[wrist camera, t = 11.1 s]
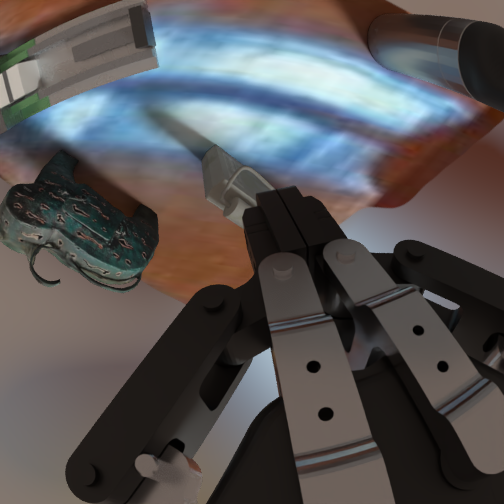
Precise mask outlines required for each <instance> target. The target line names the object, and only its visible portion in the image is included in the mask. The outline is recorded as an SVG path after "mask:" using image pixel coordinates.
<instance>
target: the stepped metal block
mask: <svg viewBox="0 0 504 504" xmlns="http://www.w3.org/2000/svg"><path fill="white" fill-rule="evenodd" d="M128 11H129V17H130V22H131V26H128V27H125V28H121V29H118V30H115V31H113V32H110V33H107V34H104V35H101V36H99V37H96V38H93V39H91V40H88V41H86V42H83V43H81V44H79V45H76V46H74V47H72V53H73V57H74V62H75V63H76V62H80V61H83V60H85V59H88V58H90V57H93V56H96V55H98V54H101V53H104V52H106V51H109V50H112V49H115V48H118V47H121V46H124V45H127V44H130V43H133V42H134V43H135V47H136V49H143V48H149V47H153V46H156V42H155V37H154V32H153V27H152V21H151V16H150V12H148V11H147V10H146V9H145V8H144V7H143V6H141V5H139V6H136V7H132V8H129V9H128Z"/></svg>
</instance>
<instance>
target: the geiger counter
mask: <svg viewBox="0 0 504 504" xmlns="http://www.w3.org/2000/svg"><path fill="white" fill-rule="evenodd" d="M202 170H203V179H204V188H205V197H206V199H207V200H208V201H210V202H211V203H213V204H214V205H216V206H217V207H219V208H220V209H222V210H223V215H224V216H225V217H226V218H228V219H229V220H231V221H232V222H234V223H235V224H237V225H238V226H240V227H241V228H243V229H244V227H243V221H242V216H243V213H244V210H245V209H246V208H251V207H256V206H257V204H256V193H259V192H264V191H269V190H274V188H273V187H272V186H271V185H270V184H269V183H268V182H267V181H266V180H265V179H264V178H263V177H262V176H261V175H260V174H259V173H257V172H256V171H255V170H254V169H252V168H251V167H249V166H243V165H242V164H241V163H240V162H238V161H237V160H236V159H234V158H233V157H232V156H230V155H229V154H228V153H227V152H225V151H224V150H223V149H221V148H220V147H219V146H217V145H215V146H213V147H212V148H211V149H210V150H208V151H207V152H206V154H205V156H204V157H203V159H202Z"/></svg>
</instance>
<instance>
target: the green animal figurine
mask: <svg viewBox="0 0 504 504" xmlns="http://www.w3.org/2000/svg"><path fill="white" fill-rule="evenodd" d="M77 163H78V160H77V159H75V158H73V157H70V156H69V155H68V154H66V153H65V152H64V151H63V150H60V151H59V152H58V153H57V154H56V155H55V156H54V157H53V158H52V159H51V160H50V161H49V163H48V164H46V165H45V166H44V167H43V169H42V170H41V172H40V174H39V175H38V177H37V179H36V180H35V182H34V183H32V184H17V185H15V186H13V187H12V188H11V189H10V190H9V191H8V193H7V195H6V196H5V198H4V199H3V201H2V203H1V205H0V241H1V242H2V243H3V244H4V245H6V246H7V247H9V248H10V249H12V250H14V251H16V252H18V253H21V254H26V256H27V259H28V261H29V262H30V271H31V272H32V274H33V276H34V277H35V279H36V280H37V281H38V282H39V283H40V284H42V285H44V286H47V287H54V286H56V285H58V284H60V279H59V280H57V281H47V280H45V279H43V278H41V277H40V276H39V275H38V274H37V273H36V272H35V271H34V268H33V265H34V261H35V256H36V254H37V253H39V251H40V250H42V249H45V250H47V251H48V252H50V253H51V254H52V255H54V256H55V257H56V258H57V259H58V260H59V261H60V262H61V263H62V264H64V265H65V266H67V267H69V268H70V269H72V270H74V271H76V272H78V273H80V274H81V275H82V276H83V277H85V278H86V279H87V280H89V281H90V282H91V283H93V284H95V285H98V286H100V287H102V288H104V289H107V290H110V291H114V292H120V293H124V292H129V291H130V290H132V289H134V288H135V287H136V286H137V285H138V283H139V281H140V280H141V273H142V271H143V270H144V269H145V267H146V266H147V265H148V263H149V262H150V260H151V259H152V258H153V255H154V251H155V249H156V247H157V245H158V242H159V234H158V217H157V214H156V213H155V212H153V211H152V210H151V209H150V208H148V207H146V206H144V205H142V204H141V205H140V206H139V207H138V208H137V210H136V211H135V213H134V214H133V217H126V216H125V215H124V214H123V213H122V212H121V211H120V210H118V209H116V208H115V207H113V206H112V205H111V204H110V203H109V202H108V201H106V200H105V199H104V198H103V197H102V196H101V195H99V194H98V193H97V192H95V191H94V190H93V189H92V188H90V187H89V186H88V185H86V184H77V183H76V182H75V180H74V177H73V170H74V167H75V165H76V164H77ZM91 277H92V278H94V279H96V280H98V281H100V282H103V283H106V284H126V283H129V282H131V281H132V280H134V279H135V278H137V279H138V280H137V282H136V283H135V284H133V285H132V286H129V287H126V288H122V289H121V288H114V287H110V286H107V285H104V284H101V283H99V282H97V281H95V280H94V279H92V278H91Z"/></svg>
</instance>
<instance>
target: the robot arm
mask: <svg viewBox="0 0 504 504" xmlns="http://www.w3.org/2000/svg"><path fill="white" fill-rule="evenodd" d="M368 45H369V49H370V52H371V54H372V55H373V57H374V59H375V60H376V61H377V62H378V63H379V64H380V65H381V66H382V67H384V68H386V69H388V70H391V71H395V72H398V73H402V74H405V75H408V76H412V77H415V78H418V79H421V80H424V81H427V82H430V83H433V84H436V85H439V86H442V87H444V88H447V89H450V90H452V91H455V92H457V93H460V94H463V95H465V96H468V97H470V98H472V99H475V100H477V101H479V102H482V103H484V104H486V105H488V106H491V107H493V108H495V109H498V110H500V111H502V112H504V28H502V27H500V26H498V25H496V24H492V23H488V22H482V21H476V20H470V19H463V18H454V17H445V16H434V15H418V14H383V15H380V16H379V17H377V18H376V19H375V20H374V21H373V22H372V23H371V25H370V27H369V31H368ZM256 204H257V206H256V207H251V208H246V209H245V210H244V213H243V216H242V221H243V227H244V233H245V239H246V245H247V250H248V253H249V257H250V260H251V264H252V267H253V271H254V275H253V277H252V278H251V279H250V280H249V281H248V282H247V283H245V284H244V285H242V286H240V287H238V288H236V289H233V288H231V287H229V286H227V285H220V284H217V285H210V286H207V287H205V288H202V289H201V290H199V291H198V292H197V293H195V295H194V296H193V297H192V298H191V299H190V301H189V302H188V303H187V304H186V306H185V307H184V308H183V309H182V311H181V312H180V313H179V315H178V316H177V317H176V318H175V320H174V321H173V322H172V324H171V325H170V326H169V327H168V329H167V330H166V331H165V333H164V334H163V335H162V336H161V338H160V339H159V340H158V342H157V343H156V344H155V345H154V347H153V348H152V349H151V350H150V352H149V353H148V354H147V356H146V357H145V358H144V360H143V361H142V362H141V363H140V365H139V366H138V367H137V369H136V370H135V371H134V373H133V374H132V375H131V377H130V378H129V379H128V380H127V382H126V383H125V384H124V386H123V387H122V388H121V390H120V391H119V392H118V394H117V395H116V396H115V398H114V399H113V400H112V402H111V403H110V404H109V406H108V407H107V408H106V410H105V411H104V412H103V414H102V415H101V416H100V418H99V419H98V420H97V422H96V423H95V424H94V426H93V427H92V428H91V430H90V431H89V432H88V434H87V435H86V436H85V438H84V439H83V440H82V442H81V443H80V445H79V446H78V447H77V449H76V450H75V451H74V453H73V454H72V455H71V457H70V458H69V460H68V462H67V465H66V471H65V475H66V481H67V484H68V486H69V488H70V490H71V491H72V492H73V494H74V495H75V496H76V497H78V498H79V499H81V500H82V501H85V502H88V503H92V504H197V495H198V491H199V489H200V487H201V484H202V472H201V469H200V468H199V466H198V464H197V463H196V462H195V461H194V460H193V459H192V458H193V457H194V455H195V454H196V452H197V451H198V449H199V448H200V446H201V444H202V443H203V441H204V440H205V438H206V436H207V435H208V433H209V432H210V430H211V429H212V427H213V426H214V424H215V422H216V421H217V419H218V418H219V416H220V414H221V413H222V411H223V409H224V408H225V406H226V404H227V403H228V401H229V400H230V398H231V396H232V394H233V393H234V391H235V389H236V388H237V386H238V385H239V383H240V381H241V380H242V378H243V376H244V374H245V373H246V371H247V369H248V367H249V366H250V364H251V362H252V359H253V357H254V356H256V355H258V354H260V353H261V352H263V351H265V350H267V349H268V348H271V353H272V359H273V364H274V369H275V375H276V381H277V387H278V393H279V397H278V398H277V399H275V400H274V401H272V402H271V403H269V404H268V405H267V406H266V407H265V408H264V409H263V410H262V411H261V412H260V413H259V414H258V415H257V416H256V417H255V419H254V420H253V422H252V423H251V425H250V426H249V428H248V430H247V432H246V434H245V436H244V438H243V439H242V441H241V443H240V445H239V447H238V449H237V451H236V452H235V454H234V456H233V458H232V460H231V462H230V463H229V465H228V467H227V469H226V471H225V472H224V474H223V476H222V478H221V479H220V481H219V483H218V485H217V486H216V488H215V490H214V491H213V493H212V495H211V496H210V498H209V500H208V501H207V503H206V504H504V278H502V277H500V276H498V275H496V274H494V273H491V272H489V271H487V270H485V269H483V268H481V267H478V266H476V265H474V264H472V263H469V262H467V261H465V260H462V259H460V258H458V257H456V256H453V255H451V254H449V253H446V252H444V251H442V250H439V249H437V248H434V247H432V246H429V245H427V244H425V243H422V242H419V241H415V240H404V241H401V242H399V243H398V244H396V246H395V248H394V252H393V253H370V252H369V251H368V250H367V249H366V247H364V245H362V244H361V243H359V242H357V241H355V240H351V239H348V238H347V237H346V235H345V234H344V232H343V231H342V230H341V228H340V227H339V225H338V224H337V223H336V221H335V220H334V218H333V217H332V216H331V214H330V213H329V212H328V211H327V209H326V207H325V206H324V205H323V203H322V202H321V201H319V200H318V199H316V198H314V197H312V196H307V197H303V196H302V195H301V193H300V192H299V190H298V189H297V187H296V186H290V187H285V188H279V189H276V190H275V189H274V190H269V191H264V192H259V193H256ZM425 290H428V291H430V292H432V293H434V294H437V295H439V296H441V297H443V298H445V299H448V300H450V301H452V302H454V303H456V304H458V305H460V307H459V308H458V309H456V310H450V309H448V308H445V307H443V306H441V305H439V304H436V303H434V302H432V301H430V300H428V299H426V298H424V297H423V293H424V291H425Z"/></svg>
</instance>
